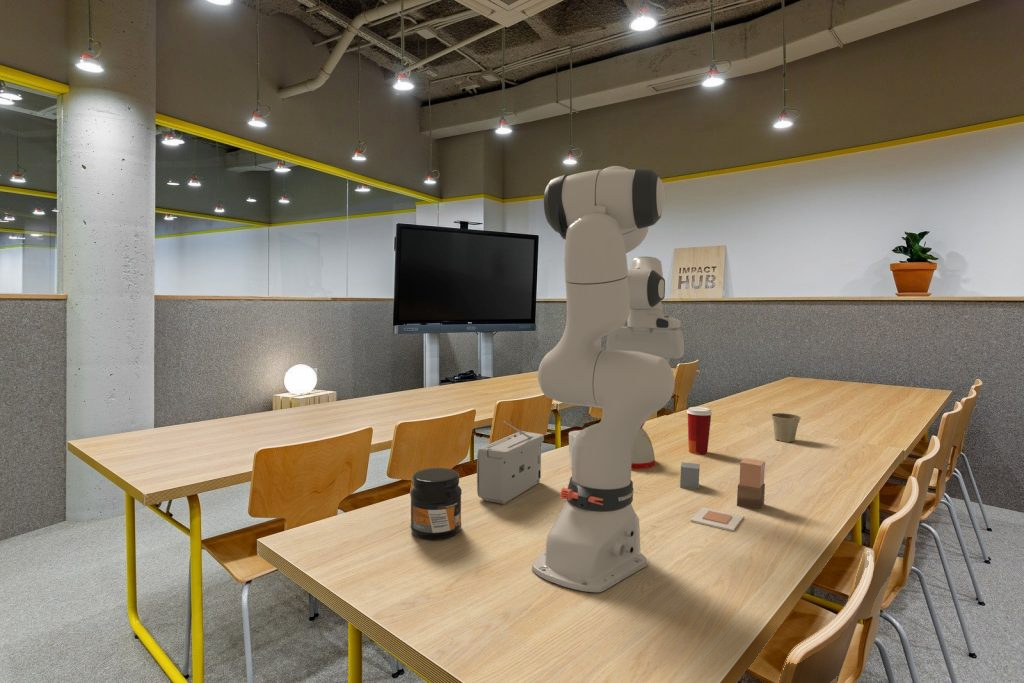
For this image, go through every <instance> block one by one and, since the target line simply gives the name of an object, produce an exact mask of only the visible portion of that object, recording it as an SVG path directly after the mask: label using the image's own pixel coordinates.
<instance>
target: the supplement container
mask: <svg viewBox="0 0 1024 683" xmlns="http://www.w3.org/2000/svg"><path fill="white" fill-rule="evenodd" d="M459 484H460V473H459V472H458V471H457V470H454V469H452V468H447V467H446V468H445V467H432V468H425V469H424V468H423V469H421V470H418V471H416V472H414V474H412V487H411V490H410V491H409V492H410V494H409V496H410V530H411V533H412V534H413V535H415V536H416V537H418V538H420V539H424V540H429V541H430V540H431V541H433V540H435V541H439V540H444V539H448V538H451V537H453V536H455V535H456V534H457V533H459V531H460V530H461V528H462V494H463V493H462V492H463V490H462V488H461V487H460V485H459Z"/></svg>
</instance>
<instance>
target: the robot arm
mask: <svg viewBox="0 0 1024 683" xmlns="http://www.w3.org/2000/svg"><path fill="white" fill-rule="evenodd" d="M661 179H662V178H661V176H660V174H658V173H657V171H655V170H653V169H651V168H647V167H646V168H645V167H636V168H635V169H629V168H627V167H624V166H621V165H612V166H608V167H605V168H603V169H594V170H589V171H588V170H587V171H583V172H578V173H574V174H567V173H565V174H562V175H559V176H557V177H554V178H552V179H550V181H549V182H548V184H547V185H546V187H545V189H544V194H543V210H544V215H545V218H546V220H547V221H546V222H547V224H549V226H550V227H551V228H552V230H553V231H554V232H556V233H558V234H559V235H560V237H561V238H562V240H565V242H564V243H565V245H564V259H563V260H564V280H565V281H564V282H565V293H566V320H565V321H566V322H565V326H564V330H563V334H562V336H561V338H560V340H559V341H558V343H557V344H556V345H555V346H554V347H553V348H552V349H551V350H550V351H548V352H547V353H546V354H545V355H544V357H542V360H541V362H540V363H539V366H538V370H537V380H538V382H537V383H538V385H539V388H540V390H541V392H542V394H543V395H544V396H545V397H546V398H548V399H550V400H553V401H557V402H559V403H561V404H566V405H568V406H569V405H571V406H580V407H589V408H599V409H602V415H601V420H600V422H598V423H595V424H592V425H589V426H587V427H585V428H583V429H581V430H582V431H580V432H579V433H578V434H577V435H576V437H575V439H574V441H573V447H572V469H571V477H569V481H568V485H567V488H566V487H562V488H561V489H560V493H559V496H560V499H561V500H566V502H565V504H564V506H563V507H562V508H561V511H560V512H559V514H558V515H557V518H556V519H555V522H553V525H552V526H551V528H550V530H549V532H548V534H547V537H546V543H545V549H543V550H542V552H540V554H539V556H538V557H537V558H535V560H534V561H533V563H532V564H531V570H532V571H533V573H534V574H535V575H537V576H539V577H541V578H542V579H544V580H546V581H548V582H551V583H554V584H556V585H559V586H562V587H565V588H567V589H572V590H576V591H581V592H587V593H588V592H589V593H601V592H604V591H605V590H608V589H609V588H611V587H613V586H615V585H616V584H618V583H619V582H621V581H623V580H624V579H626V578H628V577H630V576H631V575H633V574H636V573H637V572H638V571H640V570H642V569H643V568H645V567H646V566H648V559H647V557H646V556H645V555H644V554H642V553H641V536H640V535H641V534H640V518H639V516H638V515H637V514H636V511H635V510H634V507H633V505H632V502H633V501H634V500H633V499H634V482H633V481H632V469H631V464H632V454H633V446H634V441H635V438H636V436H637V433H638V431H639V429H640V428H641V426H642V425H643V423H644V422H645V423H646V421H648V419H649V418H650V417H652V415H654V414H655V413H657V412H659V411H660V410H662V409H663V408H664V407H665V406H666V405H667V404H668V403H669V402H670V400H671V399H672V396H673V394H674V391H675V383H676V382H675V381H676V380H675V375H674V372H673V369H672V367H671V366H670V359H676V360H677V359H681V358H682V357H683V356H684V354H685V342H684V333H683V332H682V330H681V329H680V328H681V326H682V322H681V320H680V319H677V318H675V317H672V316H669V315H666V314H664V313H663V305H662V302H663V300H664V299H665V296H666V295H665V293H666V280H665V278H664V274H663V266H662V260H660V259H659V258H656V257H652V256H639V257H635V258H633V259H631V262H630V268H629V267H628V258H627V254H628V253H630V252H632V251H633V250H635V249H636V248H638V247H639V246H640V245H641V244H642V243H643V241H644V240H645V239H646V237H647V234H648V232H649V227H651V226H652V227H653V225H656V224H657V223H658V221H659V220H660V219H661V217H662V213H663V211H664V208H665V206H666V205H665V204H666V190H665V185H664V184H663V181H662V180H661ZM628 268H629V269H628ZM605 336H607V339H606V348H603V347H602V340H603V339H602V338H603V337H605ZM645 423H644V424H645ZM643 426H644V425H643Z"/></svg>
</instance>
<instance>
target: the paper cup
mask: <svg viewBox="0 0 1024 683" xmlns="http://www.w3.org/2000/svg"><path fill="white" fill-rule="evenodd" d="M686 413H687V435H688V436H687V438H688V442H687V443H688V444H687V445H688V452H689V453H691V454H693V455H698V456H699V455H706V454H708V449H709V440H710V438H709V437H710V430H711V422H712V421H711V420H712V415H713V413H712V409H710V408H708V407H704V406H703V407H702V406H691V407H688V408H687V411H686Z"/></svg>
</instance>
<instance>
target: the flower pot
mask: <svg viewBox="0 0 1024 683" xmlns="http://www.w3.org/2000/svg"><path fill="white" fill-rule="evenodd" d="M770 416H771V419H772V422H773V423H772V424H773V432H774V439H775V440H776V441H779V442H782V443H790V442H792V443H793V442H795V440H796V436H797V432H798V426H799V423H800V420H801V419H802V417H801V416H800V415H797V414H792V413H786V412H785V413H784V412H777V413H776V412H773V413H771V414H770Z"/></svg>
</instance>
